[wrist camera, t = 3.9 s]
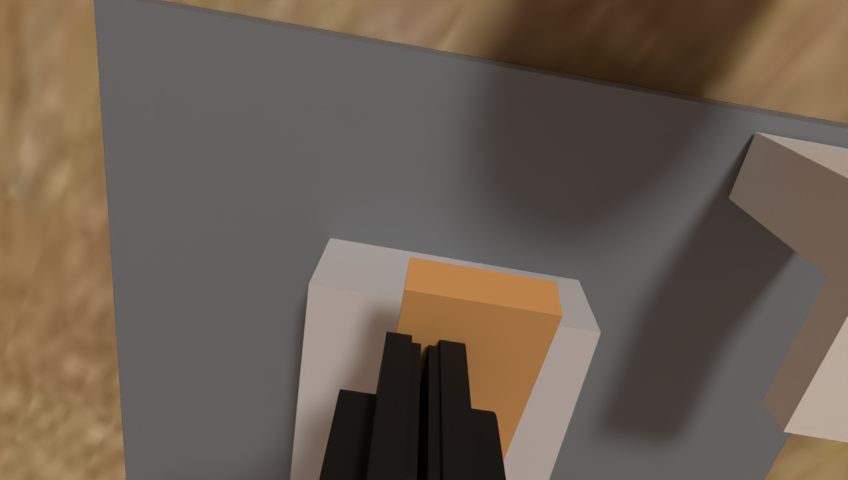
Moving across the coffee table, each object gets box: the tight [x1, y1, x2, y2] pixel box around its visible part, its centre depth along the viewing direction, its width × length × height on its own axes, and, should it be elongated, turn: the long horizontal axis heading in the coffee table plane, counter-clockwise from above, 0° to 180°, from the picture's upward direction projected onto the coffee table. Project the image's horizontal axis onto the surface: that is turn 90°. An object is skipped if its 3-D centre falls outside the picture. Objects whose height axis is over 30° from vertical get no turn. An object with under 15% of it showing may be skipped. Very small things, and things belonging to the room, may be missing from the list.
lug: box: [729, 132, 848, 442], centre depth 15 cm, size 3×6×6 cm, turn 170°
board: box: [94, 0, 848, 480], centre depth 18 cm, size 24×18×6 cm
